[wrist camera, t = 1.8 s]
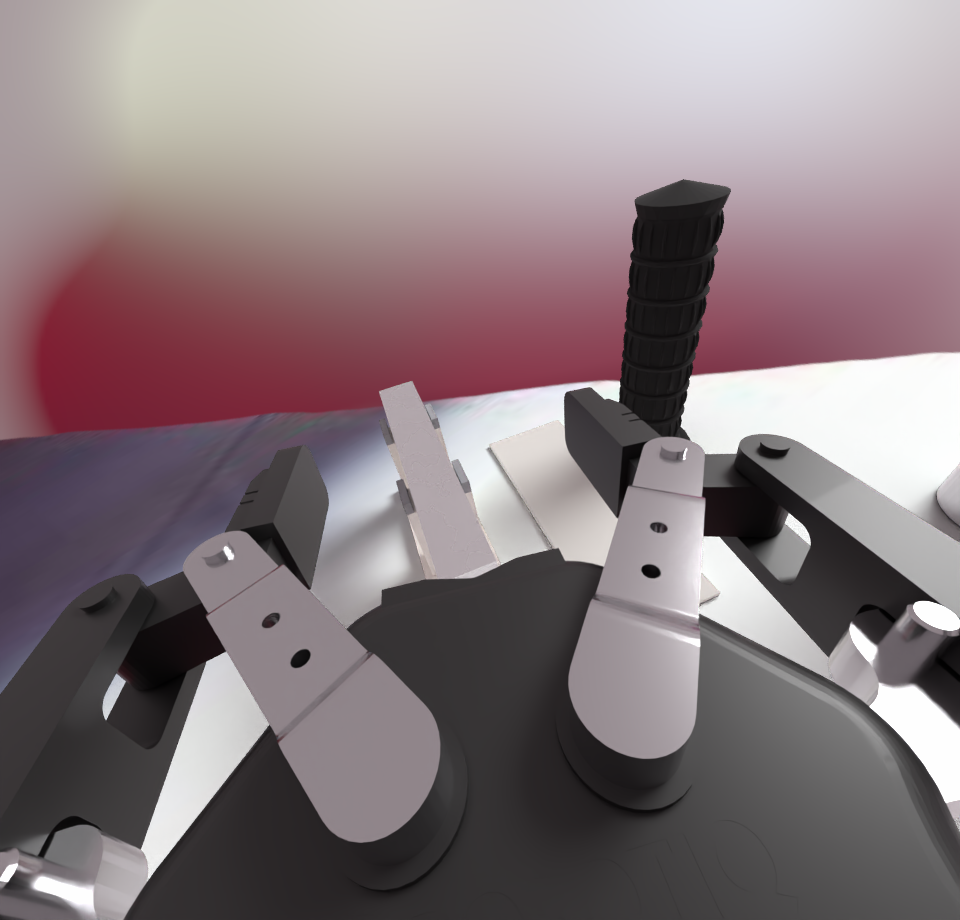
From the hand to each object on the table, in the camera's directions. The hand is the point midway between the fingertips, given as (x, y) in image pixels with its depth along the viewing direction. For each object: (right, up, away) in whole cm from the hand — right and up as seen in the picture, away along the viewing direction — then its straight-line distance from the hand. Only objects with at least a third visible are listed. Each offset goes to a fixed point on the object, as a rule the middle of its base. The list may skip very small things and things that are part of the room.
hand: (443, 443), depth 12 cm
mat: (+12, -5, +30) cm, 33 cm away
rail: (-3, -3, +22) cm, 22 cm away
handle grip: (+21, +2, +36) cm, 42 cm away
